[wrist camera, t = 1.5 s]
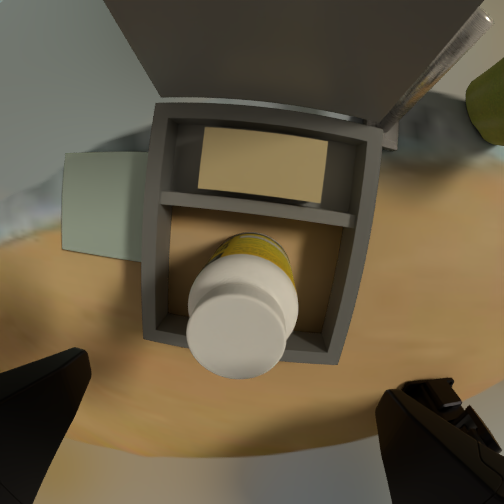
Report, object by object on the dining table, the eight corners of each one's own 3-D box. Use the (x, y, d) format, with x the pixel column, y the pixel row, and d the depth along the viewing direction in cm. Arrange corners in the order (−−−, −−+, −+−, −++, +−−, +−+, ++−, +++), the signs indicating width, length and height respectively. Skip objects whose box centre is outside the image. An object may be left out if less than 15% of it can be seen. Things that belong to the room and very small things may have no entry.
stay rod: (390, 151, 18) (523, 128, 5) (360, 144, 18) (481, 101, 5) (393, 89, 17) (503, 19, 4) (364, 80, 17) (460, -10, 4)
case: (330, 345, 21) (338, 368, 18) (156, 322, 22) (141, 341, 19) (368, 136, 18) (385, 128, 14) (169, 112, 18) (153, 101, 15)
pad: (144, 260, 20) (142, 262, 20) (65, 247, 21) (62, 249, 20) (151, 152, 19) (149, 151, 18) (68, 153, 19) (65, 153, 18)
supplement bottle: (226, 219, 19) (188, 253, 10) (301, 246, 20) (330, 303, 10) (203, 289, 21) (158, 367, 11) (273, 313, 21) (275, 405, 11)
